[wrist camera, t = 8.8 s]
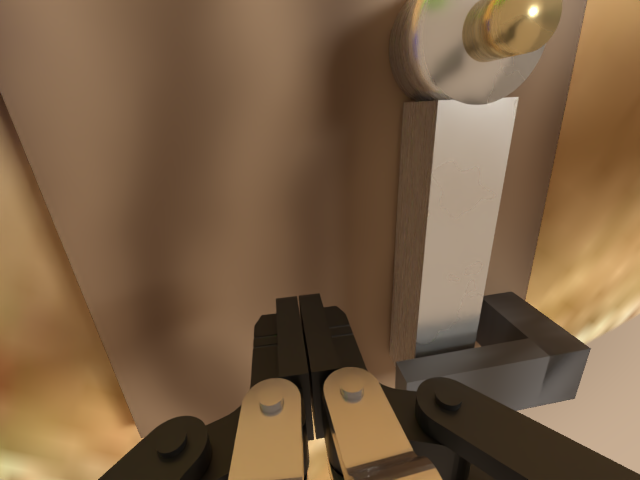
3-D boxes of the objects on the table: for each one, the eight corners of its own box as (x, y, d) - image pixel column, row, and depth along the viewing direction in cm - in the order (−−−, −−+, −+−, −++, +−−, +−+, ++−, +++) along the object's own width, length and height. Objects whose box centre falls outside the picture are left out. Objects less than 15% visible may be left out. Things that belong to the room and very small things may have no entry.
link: (391, -21, 12) (466, -98, 7) (499, -19, 12) (628, -90, 8) (377, 356, 19) (413, 433, 14) (449, 346, 19) (504, 416, 15)
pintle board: (562, -18, 14) (766, -105, 9) (495, 352, 22) (578, 437, 17) (-8, -2, 12) (-286, -117, 6) (149, 415, 20) (100, 544, 14)
